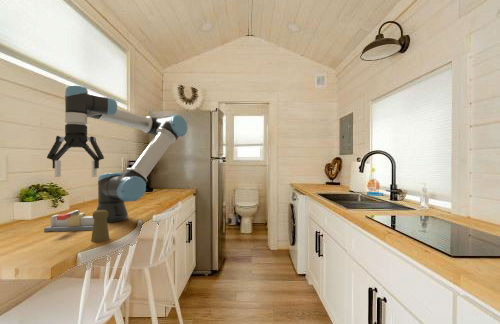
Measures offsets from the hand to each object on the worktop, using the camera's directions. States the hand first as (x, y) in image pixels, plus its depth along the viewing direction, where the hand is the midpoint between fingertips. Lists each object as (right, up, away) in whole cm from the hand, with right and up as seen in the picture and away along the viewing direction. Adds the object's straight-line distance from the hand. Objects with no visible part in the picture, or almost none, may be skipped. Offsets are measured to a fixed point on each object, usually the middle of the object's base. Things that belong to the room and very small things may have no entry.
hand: (76, 176), depth 107 cm
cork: (+15, -23, -9) cm, 29 cm away
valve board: (-5, -23, +8) cm, 25 cm away
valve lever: (-4, -17, +2) cm, 17 cm away
